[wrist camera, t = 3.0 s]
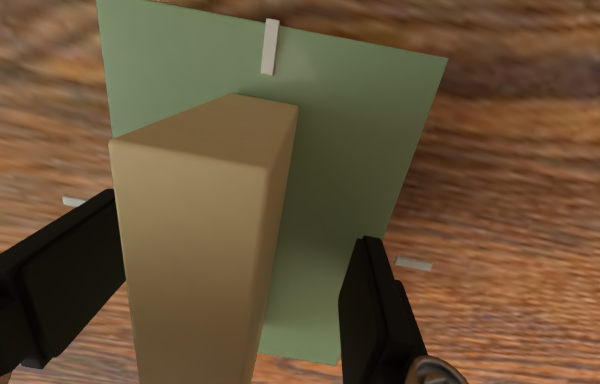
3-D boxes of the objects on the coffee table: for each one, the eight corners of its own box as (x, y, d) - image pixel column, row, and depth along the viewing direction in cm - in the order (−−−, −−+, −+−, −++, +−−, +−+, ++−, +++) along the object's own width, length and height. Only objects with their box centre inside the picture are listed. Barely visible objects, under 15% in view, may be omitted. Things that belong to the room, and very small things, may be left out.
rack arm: (228, 92, 9) (90, 144, 3) (300, 105, 9) (268, 177, 3) (216, 317, 13) (145, 491, 8) (263, 326, 13) (224, 504, 8)
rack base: (95, -7, 10) (10, -32, 8) (472, 65, 11) (528, 68, 8) (131, 281, 17) (91, 328, 14) (368, 323, 17) (377, 378, 14)
